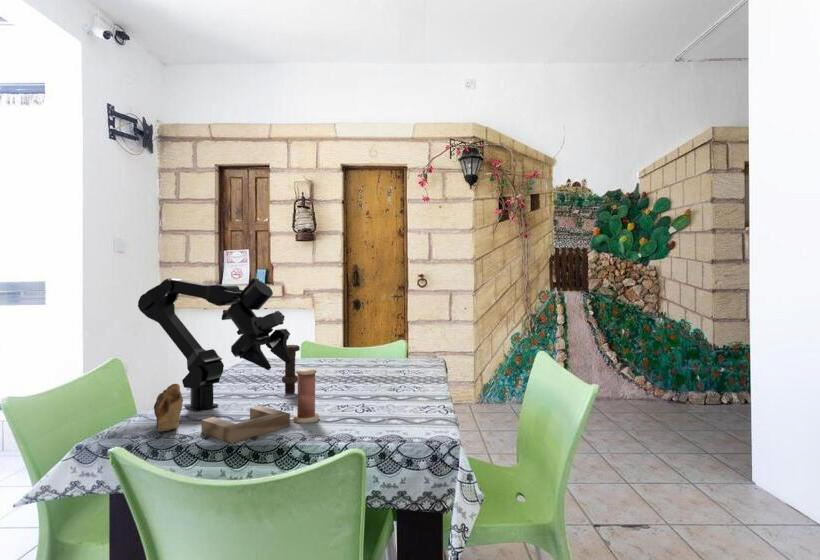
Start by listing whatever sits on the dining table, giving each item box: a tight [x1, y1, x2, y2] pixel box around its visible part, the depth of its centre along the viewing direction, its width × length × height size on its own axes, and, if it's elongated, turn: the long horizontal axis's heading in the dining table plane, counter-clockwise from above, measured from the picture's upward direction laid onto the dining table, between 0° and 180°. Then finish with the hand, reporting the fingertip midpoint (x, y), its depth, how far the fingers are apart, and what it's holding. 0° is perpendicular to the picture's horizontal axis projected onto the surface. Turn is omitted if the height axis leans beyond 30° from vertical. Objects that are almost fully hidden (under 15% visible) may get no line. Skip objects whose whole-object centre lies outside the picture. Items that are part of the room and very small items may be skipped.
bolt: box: [281, 344, 301, 395], centre depth 150 cm, size 6×5×15 cm
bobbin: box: [292, 368, 320, 424], centre depth 122 cm, size 6×6×12 cm
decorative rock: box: [153, 383, 184, 433], centre depth 114 cm, size 12×6×11 cm, turn 30°
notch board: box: [201, 405, 291, 444], centre depth 114 cm, size 12×16×3 cm
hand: (280, 366), depth 125 cm, fingers open, 9 cm apart
